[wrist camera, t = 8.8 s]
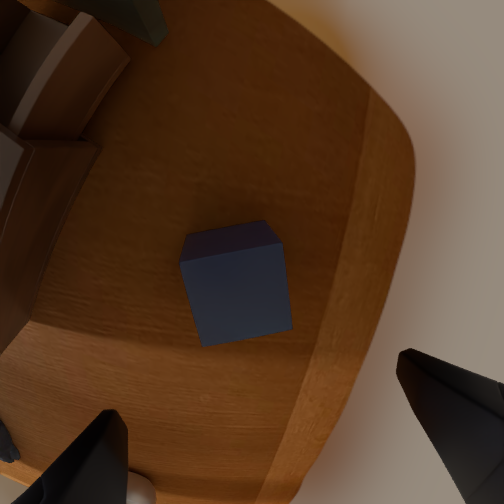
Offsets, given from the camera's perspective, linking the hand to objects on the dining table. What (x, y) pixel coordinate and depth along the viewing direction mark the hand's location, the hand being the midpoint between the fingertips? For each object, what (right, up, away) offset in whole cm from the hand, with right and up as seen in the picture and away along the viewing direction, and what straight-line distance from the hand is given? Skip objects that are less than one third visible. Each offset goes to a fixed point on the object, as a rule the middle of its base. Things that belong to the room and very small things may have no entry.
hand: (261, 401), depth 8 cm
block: (-1, +4, +11) cm, 12 cm away
